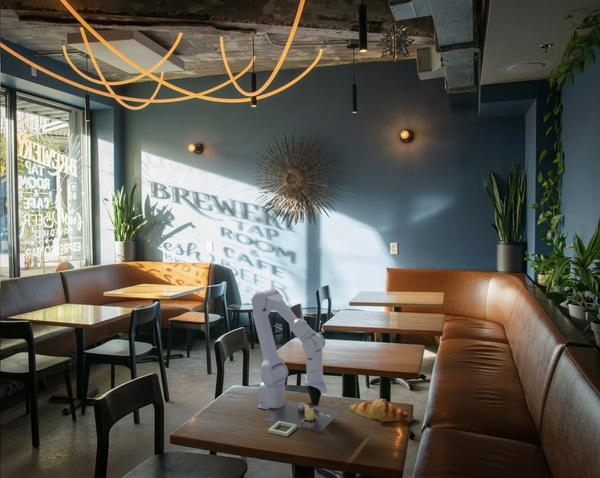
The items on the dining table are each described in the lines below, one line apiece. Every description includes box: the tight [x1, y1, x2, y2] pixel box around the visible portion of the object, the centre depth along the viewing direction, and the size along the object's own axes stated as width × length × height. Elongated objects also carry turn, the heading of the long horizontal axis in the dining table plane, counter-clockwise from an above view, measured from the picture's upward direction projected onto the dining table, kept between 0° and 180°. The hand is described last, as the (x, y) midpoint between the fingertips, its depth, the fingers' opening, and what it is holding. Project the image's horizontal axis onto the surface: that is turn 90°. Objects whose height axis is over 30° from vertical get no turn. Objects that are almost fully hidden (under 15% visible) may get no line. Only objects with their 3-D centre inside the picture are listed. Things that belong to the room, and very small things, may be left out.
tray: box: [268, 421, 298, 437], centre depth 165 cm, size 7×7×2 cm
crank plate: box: [263, 400, 342, 433], centre depth 176 cm, size 22×18×3 cm
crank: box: [297, 401, 325, 418], centre depth 175 cm, size 14×3×5 cm, turn 35°
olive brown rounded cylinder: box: [305, 406, 314, 423], centre depth 168 cm, size 3×3×6 cm
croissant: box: [350, 398, 409, 423], centre depth 176 cm, size 21×10×8 cm
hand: (315, 405), depth 176 cm, fingers closed, pressing on crank
